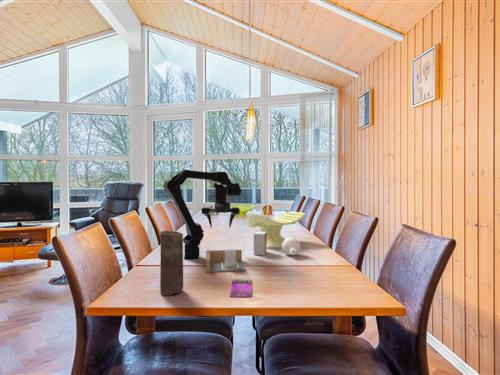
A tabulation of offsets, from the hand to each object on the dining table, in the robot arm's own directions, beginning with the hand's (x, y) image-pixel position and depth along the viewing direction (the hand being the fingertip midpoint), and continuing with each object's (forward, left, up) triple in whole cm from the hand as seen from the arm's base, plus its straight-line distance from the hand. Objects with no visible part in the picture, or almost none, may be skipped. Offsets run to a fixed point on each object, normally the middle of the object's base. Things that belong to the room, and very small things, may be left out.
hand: (220, 227), depth 148 cm
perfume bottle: (+34, -8, -13) cm, 37 cm away
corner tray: (+1, -22, -13) cm, 26 cm away
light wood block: (+3, -23, -12) cm, 26 cm away
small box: (+20, -2, -13) cm, 24 cm away
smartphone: (+5, -49, -14) cm, 51 cm away
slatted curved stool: (+34, +19, -13) cm, 41 cm away
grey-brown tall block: (-18, -49, -13) cm, 54 cm away
